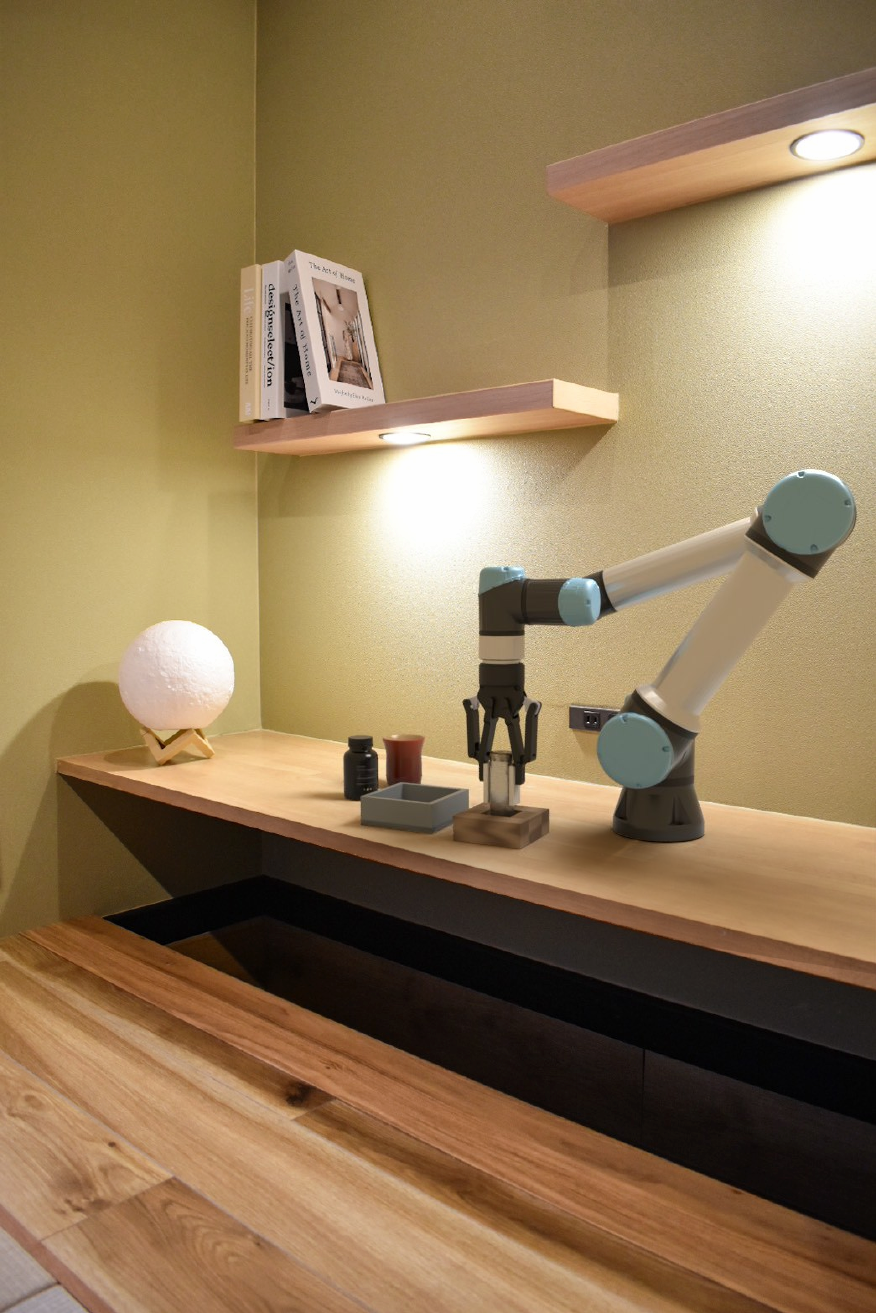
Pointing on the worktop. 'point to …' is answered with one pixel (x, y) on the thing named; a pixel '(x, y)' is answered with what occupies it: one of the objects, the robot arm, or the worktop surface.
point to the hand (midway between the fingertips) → (501, 802)
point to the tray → (413, 807)
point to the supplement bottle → (360, 767)
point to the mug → (403, 758)
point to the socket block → (501, 826)
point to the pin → (500, 783)
